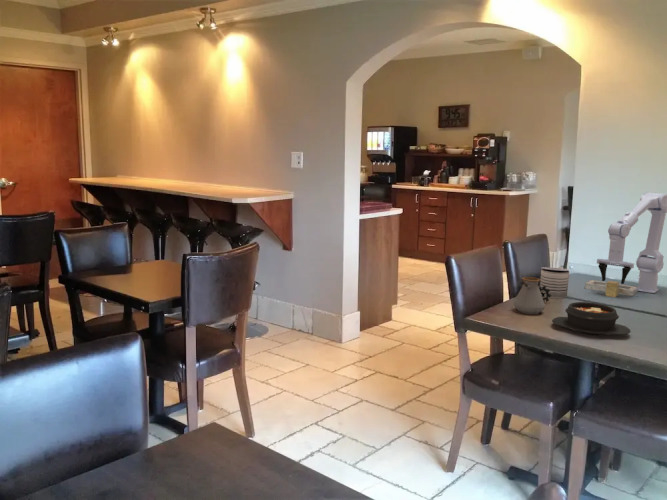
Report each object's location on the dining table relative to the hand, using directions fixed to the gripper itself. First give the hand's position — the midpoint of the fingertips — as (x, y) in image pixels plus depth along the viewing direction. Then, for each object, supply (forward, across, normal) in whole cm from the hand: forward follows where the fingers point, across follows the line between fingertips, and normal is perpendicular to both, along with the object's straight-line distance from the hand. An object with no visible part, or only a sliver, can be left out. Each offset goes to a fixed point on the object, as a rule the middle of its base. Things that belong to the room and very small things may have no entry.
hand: (613, 282), depth 259 cm
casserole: (+6, +9, -61) cm, 62 cm away
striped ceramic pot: (+6, -19, -18) cm, 27 cm away
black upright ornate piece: (+6, -19, -38) cm, 43 cm away
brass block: (+6, 0, 0) cm, 6 cm away
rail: (+6, -3, +10) cm, 12 cm away
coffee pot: (+6, -16, -57) cm, 59 cm away
